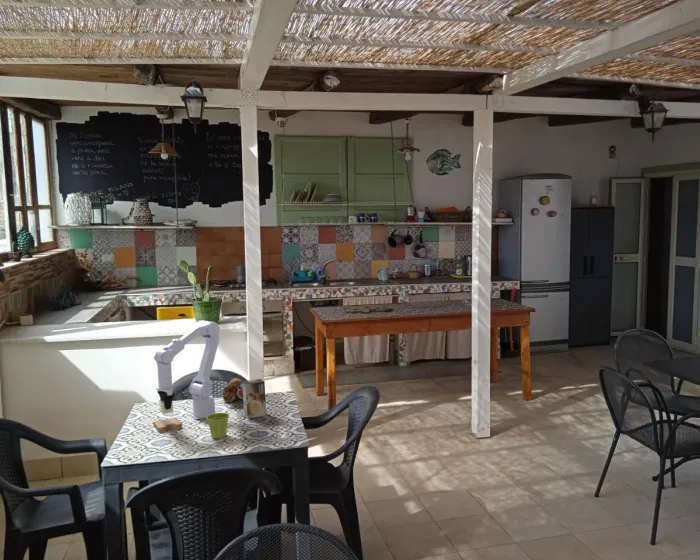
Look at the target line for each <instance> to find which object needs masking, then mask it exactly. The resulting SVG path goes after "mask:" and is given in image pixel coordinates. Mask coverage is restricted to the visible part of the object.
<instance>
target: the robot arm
mask: <svg viewBox="0 0 700 560" xmlns="http://www.w3.org/2000/svg"><path fill="white" fill-rule="evenodd" d="M220 330H221V328H220V326H219V324H218V323H217V322H216V321H209V320H203V319H200V320H198V321H197V322H196V323H194V324H193V326H192V328H191V329H189V330H188V331H187V332H186V333H185V334H184V335H183V336H181V337H180V338H173V339H172V340H171V342H169V344H167V345H166V346H163V348H162V349H159V350H156V352H155V354H154V356H153V359H154V361H155V362H156V366H157V381H158V386H157V387H155V390H156V392H157V394H158V395H159V399H160V401H164V406H165V409H166V410H167V409H171V404H172V402H173V400H174V399H173V398H174V397H175V395H176V394H175V392H173V388H174V386H173V377H172V376H173V374H172V362H173V361H174V358H175V357H176V356H177V355H178V354H179V353H181V352H182V351H183V350H185V345H187V344H188V343H190V342H191V341H192V340H194V339H195V338H196V337H198V336H201V337H203V339H204V341H205V345H204V349H203V354H202V357H201V361H200V364H199V368H198V373H197V375H195V377H193V378H192V382H191V383H190V384H189V387H188V392H189V393H190V395H191V397H192V408H193V409H192V410H193V411H192V413H191V414H190V416H191V417H192V418H193V419H195V420H196V421H197V420H202V419H206V417H207V416H208V415H210V414H214V413H216V405H215V404H216V403H215V399H214V396H213V395H212V392H213V391H212V389H213V388H212V384H213V382H212V380H211V379H210V376H211V372H212V369H213V365H214V361H215V358H216V355H217V351H218V346H219V342H220V335H219V334H220Z"/></svg>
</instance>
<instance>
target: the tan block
mask: <svg viewBox="0 0 700 560" xmlns="http://www.w3.org/2000/svg"><path fill="white" fill-rule="evenodd" d="M153 427H154V428H156V429H155V430H156V431H157V433H158V432H160V433H164V432H163V431H165V432H169V431H168V430H170V431H175V430H180V429H179V428H181V429H183V424H182V421H180V420H179V419H178V417H172V418H166V419H161V420H155V421H153ZM174 429H175V430H174Z"/></svg>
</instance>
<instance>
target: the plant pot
mask: <svg viewBox="0 0 700 560" xmlns="http://www.w3.org/2000/svg"><path fill="white" fill-rule="evenodd" d="M229 418H230V414H229V413H226V412H215V413H214V414H210V415H208V416H207V417H206V418H205V419H206V420H207V422H208V425H209V426H208V427H209V431H210V436H211V438H212V439H218V438H219V439H223V438H225V437H226V436H227V431H228V421H229Z"/></svg>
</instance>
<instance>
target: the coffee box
mask: <svg viewBox="0 0 700 560" xmlns="http://www.w3.org/2000/svg"><path fill="white" fill-rule="evenodd" d="M241 382H242V383H241V385H242V386H241V387H243V399H242V401H243V416H244V417H246V418H247V419H252V418H258V417H265V416H267V402H266V386H265V383H266V381H264V380H263V379H262V378H259V379H258V378H255V379H249V380H243V381H242V380H241Z"/></svg>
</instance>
